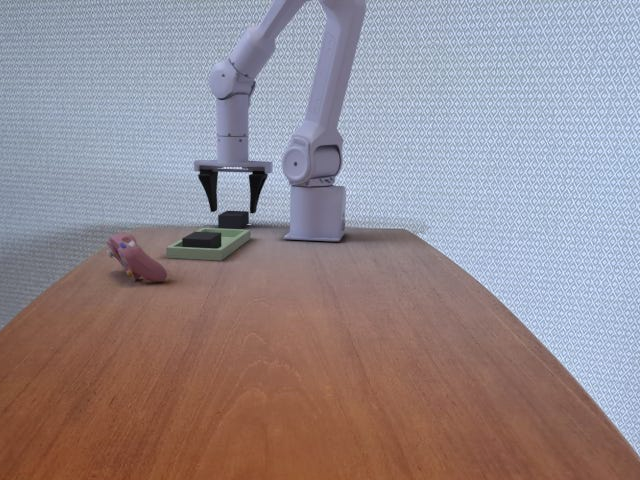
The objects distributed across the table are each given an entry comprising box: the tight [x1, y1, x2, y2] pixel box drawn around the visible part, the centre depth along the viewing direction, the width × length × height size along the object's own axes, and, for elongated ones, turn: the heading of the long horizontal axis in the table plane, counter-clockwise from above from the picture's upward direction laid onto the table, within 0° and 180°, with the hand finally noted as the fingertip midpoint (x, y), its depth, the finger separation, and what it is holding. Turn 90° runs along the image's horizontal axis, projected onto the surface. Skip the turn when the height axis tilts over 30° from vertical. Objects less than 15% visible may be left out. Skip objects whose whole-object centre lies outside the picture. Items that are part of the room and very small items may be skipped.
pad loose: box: [217, 210, 250, 229], centre depth 128 cm, size 6×4×2 cm
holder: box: [165, 227, 251, 262], centre depth 108 cm, size 18×9×2 cm, turn 166°
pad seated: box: [181, 231, 222, 249], centre depth 104 cm, size 6×4×2 cm
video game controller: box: [106, 232, 167, 283], centre depth 89 cm, size 10×5×7 cm, turn 25°
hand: (233, 212), depth 127 cm, fingers open, 7 cm apart
